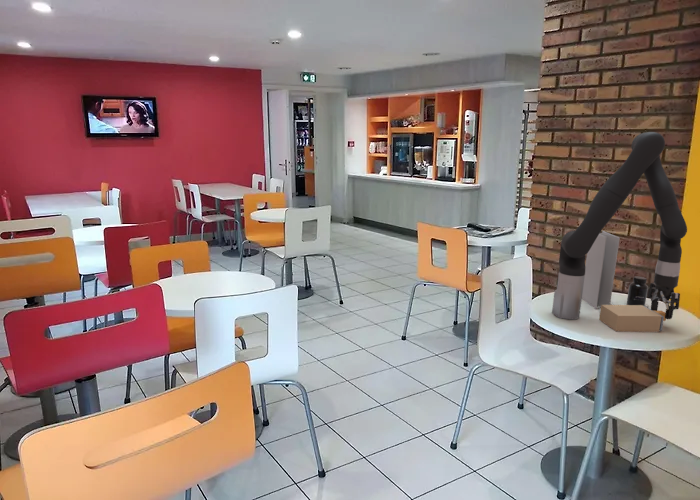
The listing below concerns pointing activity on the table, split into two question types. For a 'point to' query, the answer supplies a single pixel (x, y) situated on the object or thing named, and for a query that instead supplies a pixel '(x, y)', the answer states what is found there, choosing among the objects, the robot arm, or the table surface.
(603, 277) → the grey standing panel
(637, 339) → the table surface
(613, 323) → the sleeve
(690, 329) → the table surface
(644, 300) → the supplement bottle
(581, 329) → the table surface
